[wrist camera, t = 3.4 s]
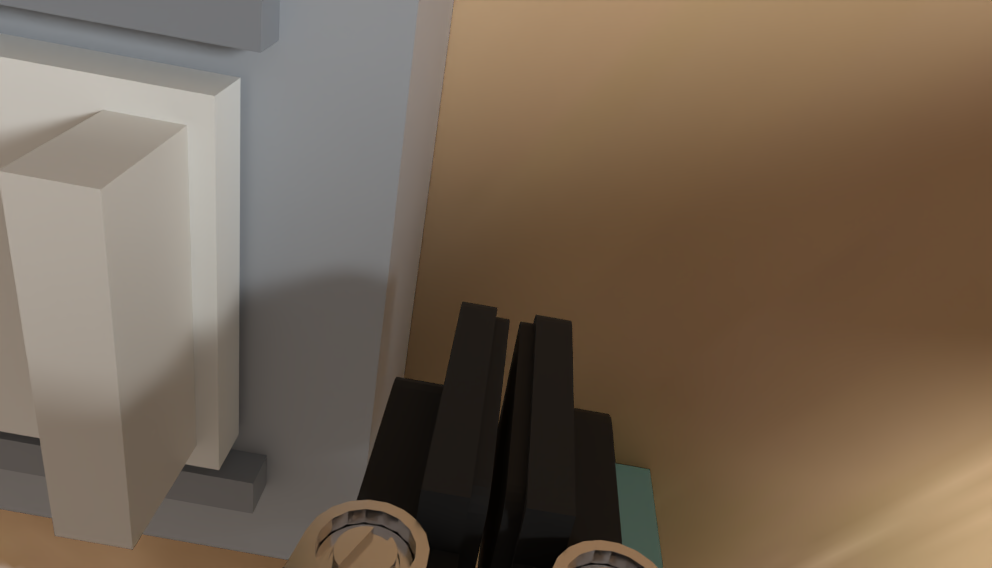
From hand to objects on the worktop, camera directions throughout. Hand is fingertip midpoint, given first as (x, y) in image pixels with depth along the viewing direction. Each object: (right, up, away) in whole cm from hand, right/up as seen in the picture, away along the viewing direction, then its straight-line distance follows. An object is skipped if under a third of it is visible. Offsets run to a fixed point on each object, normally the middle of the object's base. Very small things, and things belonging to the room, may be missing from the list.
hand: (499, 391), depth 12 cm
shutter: (-8, +2, +1) cm, 8 cm away
